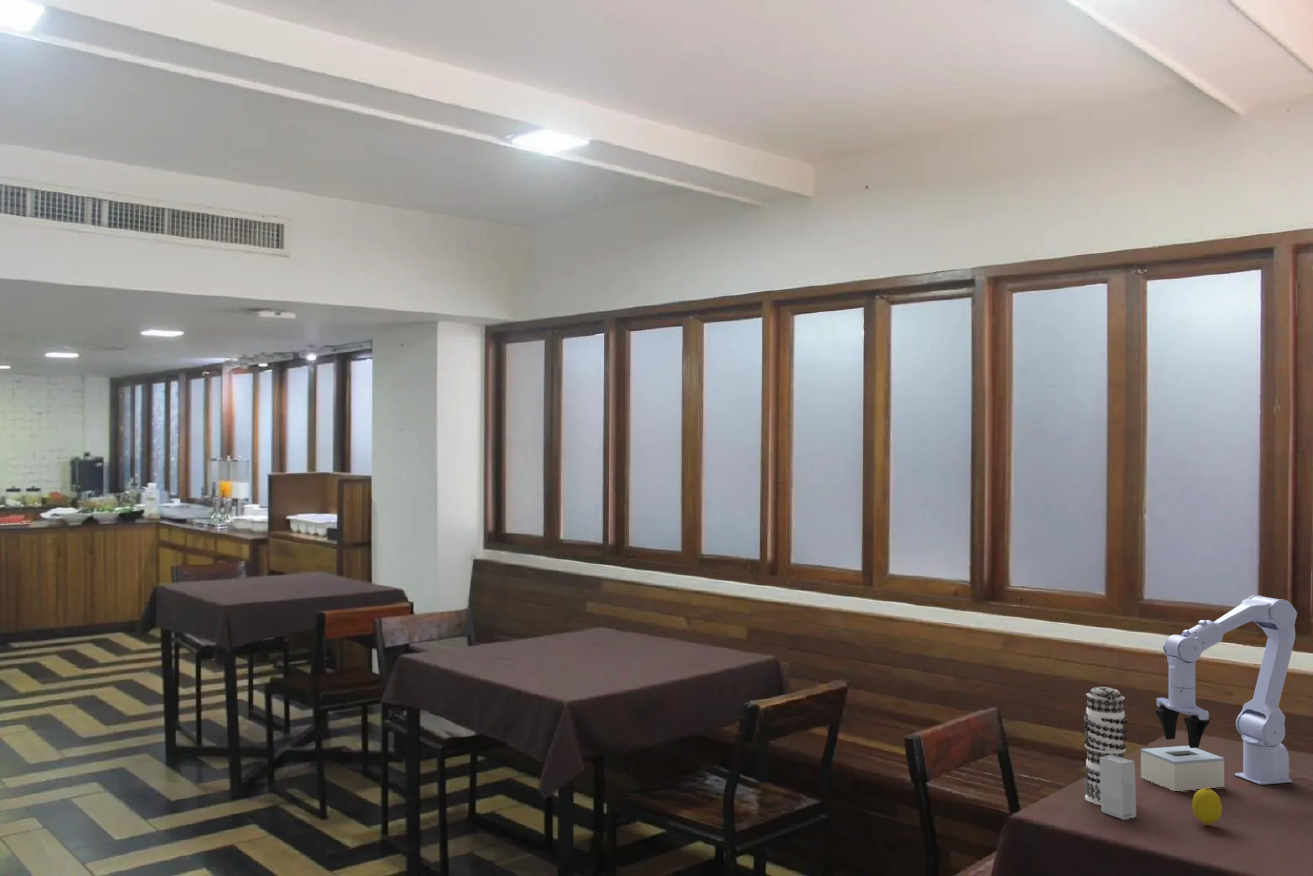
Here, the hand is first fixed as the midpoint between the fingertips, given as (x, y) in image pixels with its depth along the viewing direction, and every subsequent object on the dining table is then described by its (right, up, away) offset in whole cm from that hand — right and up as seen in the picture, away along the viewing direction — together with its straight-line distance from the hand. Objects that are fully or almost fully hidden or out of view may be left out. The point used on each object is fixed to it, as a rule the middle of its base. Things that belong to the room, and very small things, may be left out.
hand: (1181, 743), depth 248 cm
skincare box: (-26, -9, -24) cm, 36 cm away
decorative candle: (-24, -9, -14) cm, 29 cm away
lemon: (-10, -9, -30) cm, 33 cm away
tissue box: (0, -9, 0) cm, 9 cm away
